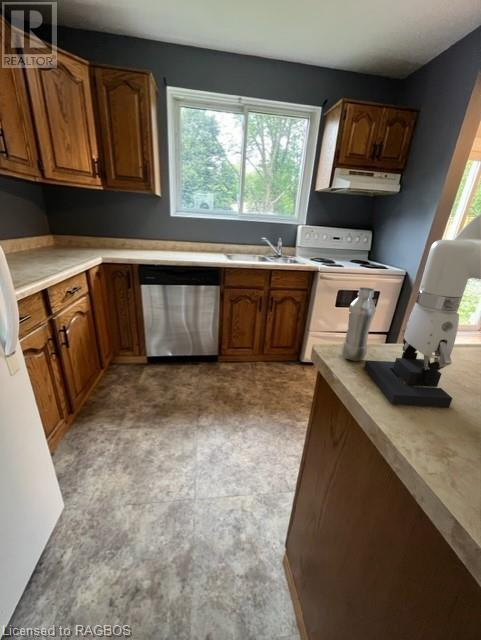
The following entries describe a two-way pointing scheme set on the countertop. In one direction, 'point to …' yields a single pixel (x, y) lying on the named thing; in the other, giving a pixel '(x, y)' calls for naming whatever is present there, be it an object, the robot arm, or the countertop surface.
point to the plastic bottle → (359, 325)
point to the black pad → (412, 371)
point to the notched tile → (404, 387)
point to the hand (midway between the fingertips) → (414, 374)
